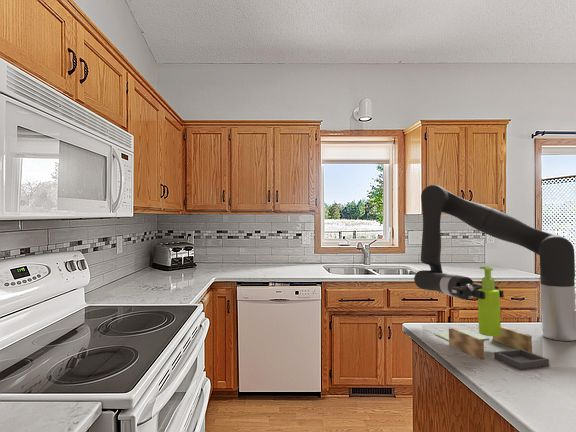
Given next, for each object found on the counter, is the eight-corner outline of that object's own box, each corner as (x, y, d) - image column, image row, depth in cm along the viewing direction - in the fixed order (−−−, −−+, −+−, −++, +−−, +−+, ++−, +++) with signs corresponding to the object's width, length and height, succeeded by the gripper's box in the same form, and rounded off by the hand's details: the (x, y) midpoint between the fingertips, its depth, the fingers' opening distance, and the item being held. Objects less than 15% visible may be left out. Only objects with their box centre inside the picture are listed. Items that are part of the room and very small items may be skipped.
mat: (433, 334, 134) (433, 332, 134) (466, 330, 137) (466, 329, 137) (454, 343, 123) (454, 342, 123) (489, 339, 126) (489, 338, 126)
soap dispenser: (494, 329, 121) (492, 265, 121) (504, 336, 114) (502, 268, 114) (474, 329, 121) (472, 265, 121) (483, 336, 114) (481, 268, 115)
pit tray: (494, 358, 109) (494, 352, 109) (521, 355, 111) (521, 348, 111) (520, 370, 100) (520, 363, 100) (549, 366, 102) (548, 359, 102)
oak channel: (449, 344, 122) (448, 328, 122) (496, 339, 126) (495, 324, 126) (480, 359, 108) (479, 341, 109) (532, 353, 112) (531, 335, 113)
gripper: (437, 276, 130) (471, 283, 114) (474, 273, 133) (513, 280, 117) (438, 298, 130) (473, 309, 113) (475, 295, 133) (514, 305, 117)
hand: (493, 294), depth 115 cm, fingers closed on soap dispenser, 6 cm apart
